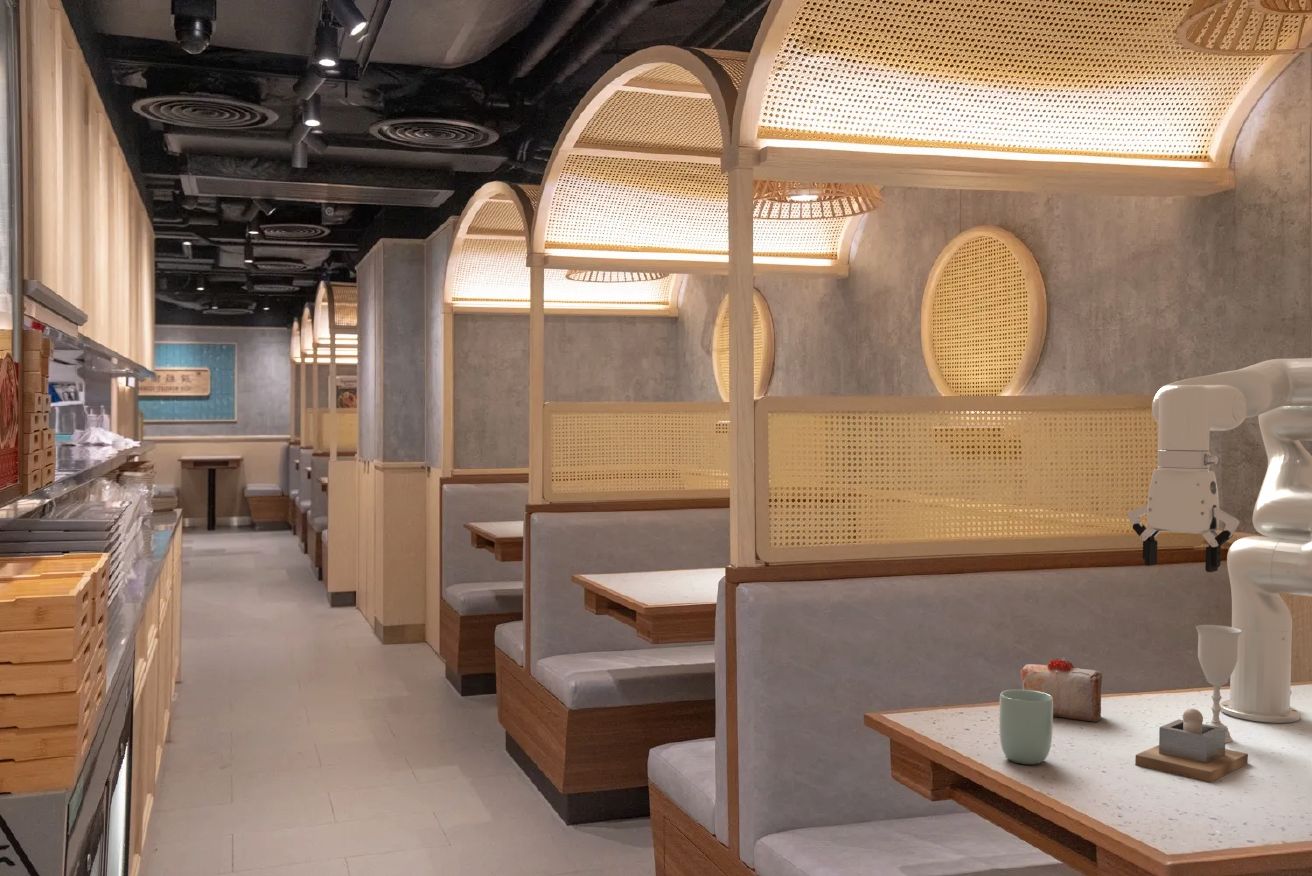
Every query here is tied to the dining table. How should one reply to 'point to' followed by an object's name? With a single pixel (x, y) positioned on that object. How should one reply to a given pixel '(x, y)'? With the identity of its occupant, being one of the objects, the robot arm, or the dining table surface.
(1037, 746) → the cup
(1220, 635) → the chalice
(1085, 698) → the food item
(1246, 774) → the dining table surface
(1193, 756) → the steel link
